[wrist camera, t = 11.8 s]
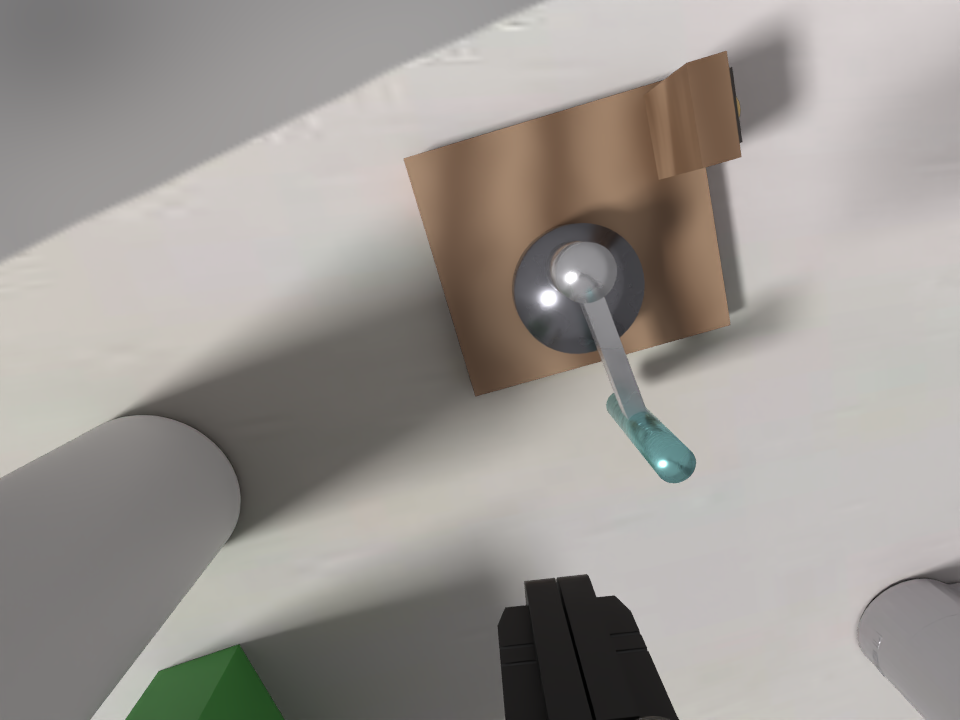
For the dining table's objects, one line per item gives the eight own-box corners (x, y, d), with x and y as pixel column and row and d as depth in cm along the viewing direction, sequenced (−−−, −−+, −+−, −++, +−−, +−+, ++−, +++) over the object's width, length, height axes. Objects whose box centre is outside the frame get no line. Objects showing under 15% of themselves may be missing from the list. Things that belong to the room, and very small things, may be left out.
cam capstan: (492, 255, 32) (505, 265, 22) (609, 202, 31) (674, 189, 22) (568, 434, 35) (608, 511, 25) (675, 389, 35) (757, 451, 25)
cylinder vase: (56, 525, 38) (-648, 1032, 14) (100, 383, 36) (-674, 708, 11) (214, 582, 40) (-169, 1123, 16) (268, 451, 37) (-94, 860, 13)
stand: (684, 79, 32) (755, 30, 24) (723, 318, 36) (794, 341, 28) (407, 162, 33) (389, 141, 25) (474, 387, 36) (477, 429, 29)
